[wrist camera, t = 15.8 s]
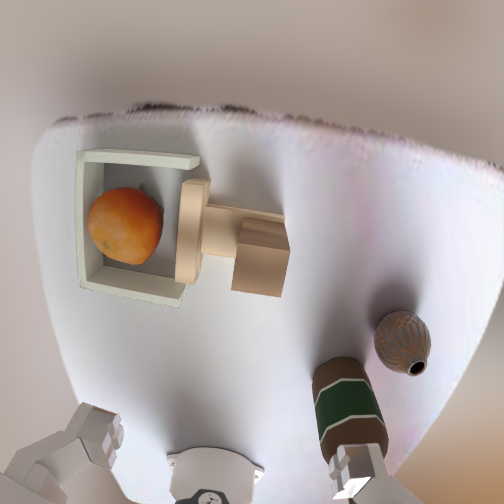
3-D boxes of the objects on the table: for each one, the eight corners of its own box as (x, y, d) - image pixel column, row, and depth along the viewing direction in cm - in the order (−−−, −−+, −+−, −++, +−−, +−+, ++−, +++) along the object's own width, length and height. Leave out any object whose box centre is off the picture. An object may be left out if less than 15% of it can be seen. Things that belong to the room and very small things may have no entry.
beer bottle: (315, 399, 41) (334, 549, 19) (306, 362, 39) (328, 534, 16) (366, 386, 40) (408, 530, 18) (363, 348, 38) (420, 509, 15)
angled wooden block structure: (272, 280, 35) (273, 327, 26) (183, 266, 35) (158, 308, 26) (288, 191, 31) (297, 212, 23) (192, 177, 31) (163, 193, 22)
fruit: (193, 203, 31) (146, 256, 25) (166, 238, 36) (127, 286, 31) (135, 153, 29) (80, 197, 24) (117, 196, 35) (73, 238, 30)
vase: (363, 315, 36) (384, 359, 28) (412, 294, 35) (443, 332, 27) (373, 353, 38) (392, 399, 30) (418, 334, 37) (445, 375, 29)
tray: (188, 288, 36) (178, 308, 31) (97, 271, 35) (79, 287, 31) (200, 156, 30) (190, 158, 26) (98, 148, 30) (76, 151, 26)
